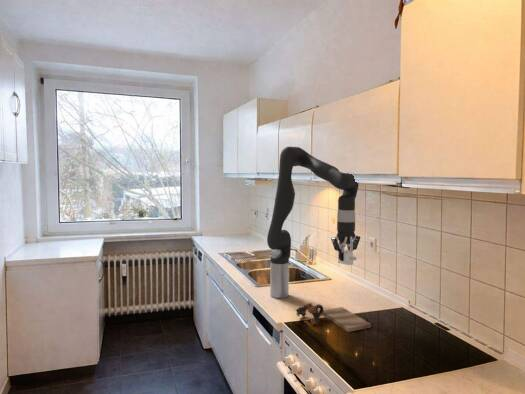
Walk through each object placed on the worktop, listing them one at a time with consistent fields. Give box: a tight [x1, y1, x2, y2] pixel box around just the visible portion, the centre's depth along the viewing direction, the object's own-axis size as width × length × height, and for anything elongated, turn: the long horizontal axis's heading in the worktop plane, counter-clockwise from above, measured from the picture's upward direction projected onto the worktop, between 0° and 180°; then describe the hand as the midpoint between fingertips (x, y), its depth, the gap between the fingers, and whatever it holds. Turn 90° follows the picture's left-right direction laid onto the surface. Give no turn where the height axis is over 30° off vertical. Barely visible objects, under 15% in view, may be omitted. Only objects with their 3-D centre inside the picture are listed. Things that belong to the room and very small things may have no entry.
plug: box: [337, 248, 357, 266], centre depth 161 cm, size 11×4×6 cm, turn 23°
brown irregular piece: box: [295, 302, 324, 326], centre depth 161 cm, size 12×10×8 cm
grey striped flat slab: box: [321, 306, 372, 333], centre depth 160 cm, size 20×11×2 cm, turn 23°
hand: (345, 259), depth 162 cm, fingers closed on plug, 3 cm apart
